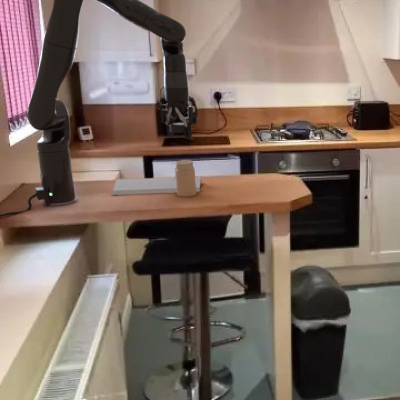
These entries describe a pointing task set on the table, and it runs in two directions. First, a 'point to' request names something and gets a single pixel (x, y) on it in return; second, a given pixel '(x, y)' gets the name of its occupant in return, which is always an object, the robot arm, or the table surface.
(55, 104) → the robot arm
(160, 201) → the table surface
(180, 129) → the jar lid
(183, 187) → the coffee jar
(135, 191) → the crown molding
